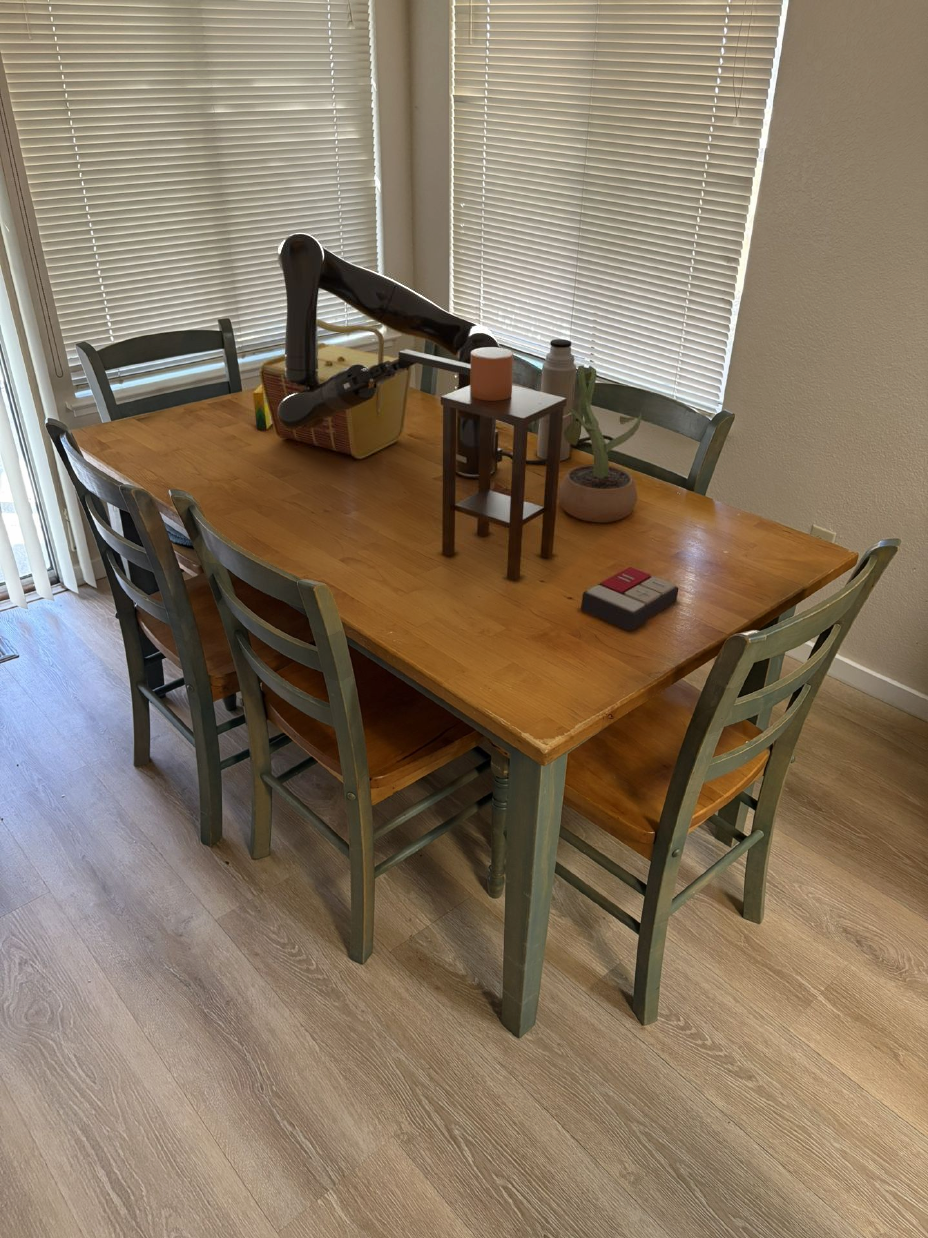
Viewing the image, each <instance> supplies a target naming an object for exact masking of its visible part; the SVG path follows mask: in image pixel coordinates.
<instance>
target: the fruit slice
mask: <svg viewBox="0 0 928 1238" xmlns="http://www.w3.org/2000/svg"><path fill="white" fill-rule="evenodd" d="M490 490H491V491H494V492H497V493H500V494H503V495H506V496H509V497H511V488H508V487H506V486H503V485H501V484H500V483H497V482H496V481H494V480H492V481H491V484H490Z"/></svg>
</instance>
